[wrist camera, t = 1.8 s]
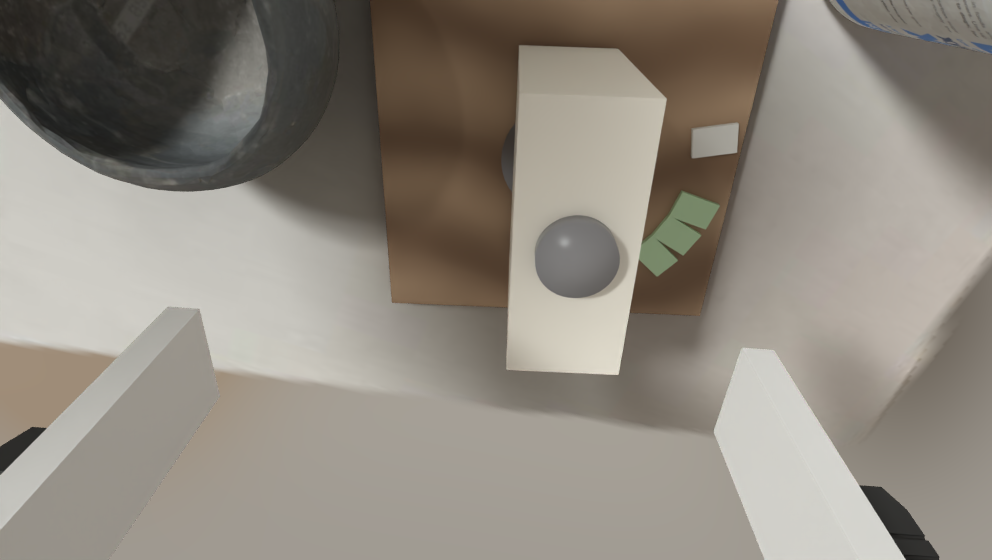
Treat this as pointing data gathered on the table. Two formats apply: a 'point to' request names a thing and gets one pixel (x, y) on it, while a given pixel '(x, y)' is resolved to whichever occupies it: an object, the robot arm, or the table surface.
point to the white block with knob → (577, 205)
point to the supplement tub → (926, 20)
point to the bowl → (170, 83)
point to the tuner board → (492, 115)
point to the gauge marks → (688, 203)
